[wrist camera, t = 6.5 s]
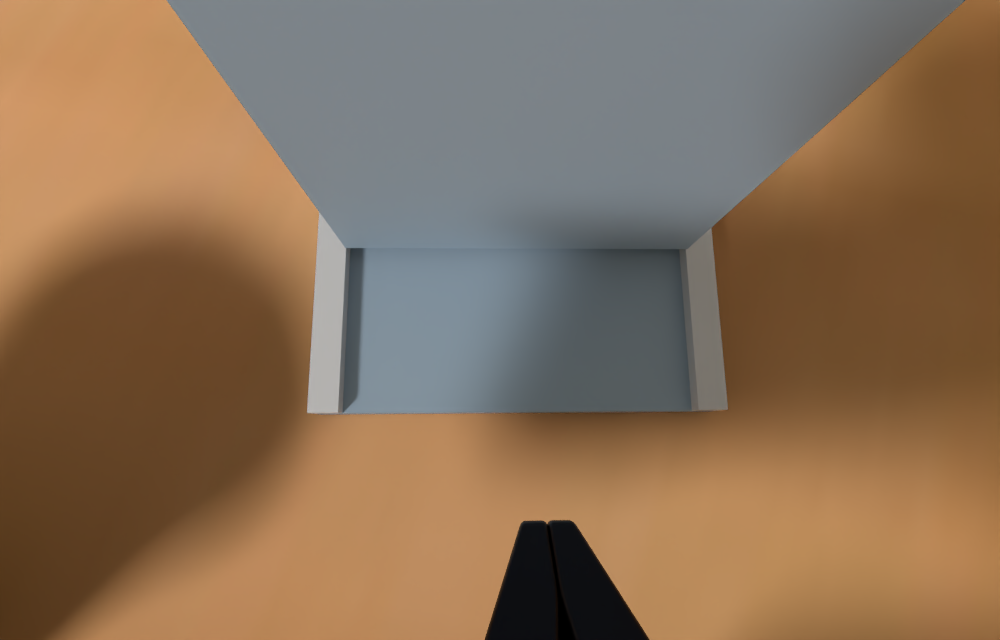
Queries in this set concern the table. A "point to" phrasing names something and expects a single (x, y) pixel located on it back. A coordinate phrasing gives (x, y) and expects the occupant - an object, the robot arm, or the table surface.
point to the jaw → (544, 107)
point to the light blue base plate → (514, 330)
